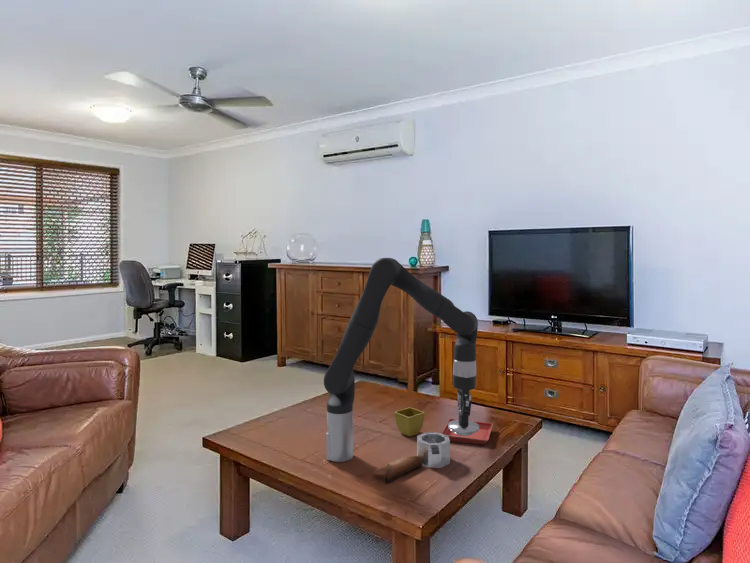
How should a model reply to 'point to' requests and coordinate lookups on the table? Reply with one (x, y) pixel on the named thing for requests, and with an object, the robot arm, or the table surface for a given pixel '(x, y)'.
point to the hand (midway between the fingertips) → (463, 424)
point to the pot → (433, 449)
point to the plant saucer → (475, 438)
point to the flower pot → (409, 421)
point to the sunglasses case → (397, 468)
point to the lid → (463, 431)
